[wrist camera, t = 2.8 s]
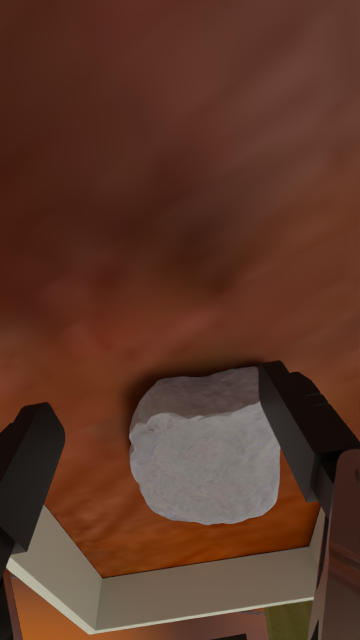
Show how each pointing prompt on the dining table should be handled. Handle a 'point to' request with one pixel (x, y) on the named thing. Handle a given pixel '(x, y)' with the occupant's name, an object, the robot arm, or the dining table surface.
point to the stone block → (205, 448)
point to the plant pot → (289, 620)
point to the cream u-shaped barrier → (160, 582)
